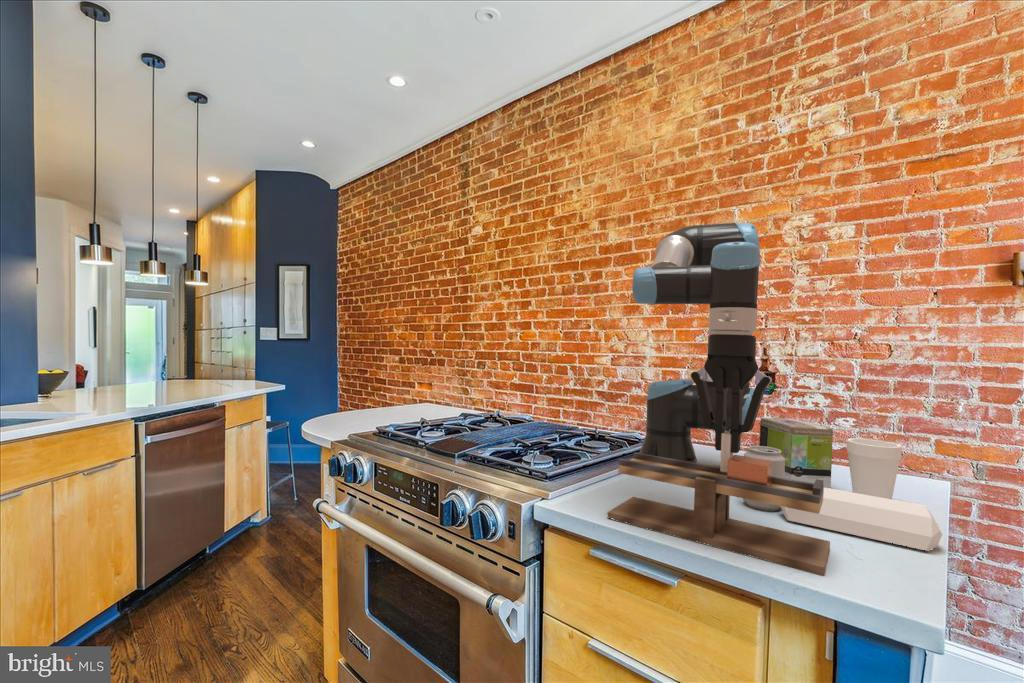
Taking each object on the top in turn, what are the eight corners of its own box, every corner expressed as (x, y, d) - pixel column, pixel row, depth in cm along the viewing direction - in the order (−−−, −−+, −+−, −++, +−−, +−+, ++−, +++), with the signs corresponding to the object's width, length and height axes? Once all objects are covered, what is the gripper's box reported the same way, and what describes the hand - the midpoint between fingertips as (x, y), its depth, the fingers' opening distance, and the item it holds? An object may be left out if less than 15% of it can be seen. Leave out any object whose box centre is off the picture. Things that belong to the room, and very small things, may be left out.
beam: (618, 472, 91) (619, 454, 91) (634, 464, 98) (635, 447, 98) (819, 513, 72) (819, 490, 72) (823, 500, 78) (823, 479, 78)
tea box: (832, 492, 112) (834, 428, 112) (788, 490, 112) (791, 426, 112) (795, 474, 127) (797, 417, 127) (756, 472, 127) (758, 416, 127)
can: (789, 514, 96) (791, 453, 96) (748, 510, 97) (750, 450, 97) (776, 501, 103) (778, 445, 103) (738, 498, 104) (740, 443, 104)
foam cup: (850, 493, 111) (852, 436, 111) (902, 504, 104) (904, 443, 104) (841, 502, 104) (842, 441, 104) (895, 514, 97) (897, 449, 97)
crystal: (774, 503, 91) (945, 538, 76) (780, 477, 96) (942, 505, 81) (776, 531, 94) (942, 570, 79) (782, 504, 98) (939, 536, 84)
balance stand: (607, 518, 90) (609, 462, 90) (632, 502, 100) (634, 451, 100) (824, 575, 70) (826, 503, 70) (829, 548, 80) (831, 484, 79)
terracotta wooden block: (726, 483, 81) (727, 459, 81) (733, 477, 85) (734, 454, 85) (766, 491, 77) (767, 466, 77) (772, 484, 81) (773, 460, 81)
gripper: (686, 332, 84) (681, 467, 84) (770, 334, 76) (764, 483, 77) (699, 333, 90) (694, 459, 90) (777, 335, 82) (772, 473, 83)
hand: (726, 470), depth 83 cm, fingers closed
